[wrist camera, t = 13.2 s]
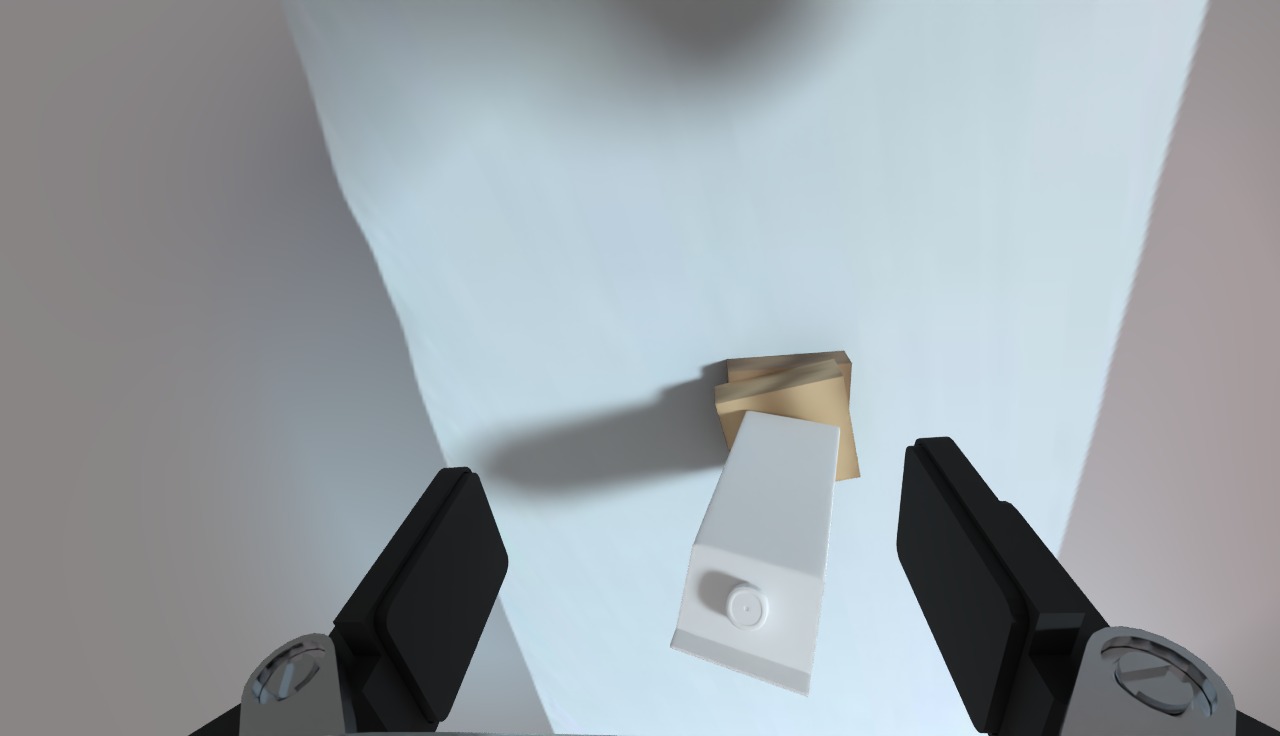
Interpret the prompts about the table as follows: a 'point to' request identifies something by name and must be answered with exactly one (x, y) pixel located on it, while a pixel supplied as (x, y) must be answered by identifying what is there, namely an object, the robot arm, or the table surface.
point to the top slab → (793, 405)
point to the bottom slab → (786, 365)
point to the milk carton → (763, 553)
